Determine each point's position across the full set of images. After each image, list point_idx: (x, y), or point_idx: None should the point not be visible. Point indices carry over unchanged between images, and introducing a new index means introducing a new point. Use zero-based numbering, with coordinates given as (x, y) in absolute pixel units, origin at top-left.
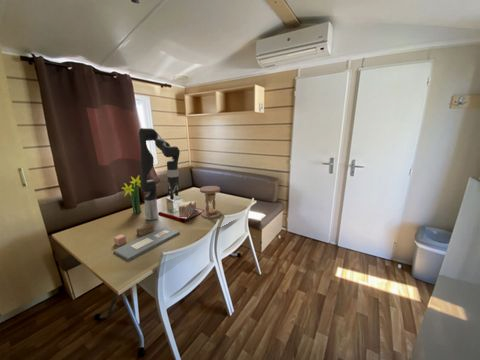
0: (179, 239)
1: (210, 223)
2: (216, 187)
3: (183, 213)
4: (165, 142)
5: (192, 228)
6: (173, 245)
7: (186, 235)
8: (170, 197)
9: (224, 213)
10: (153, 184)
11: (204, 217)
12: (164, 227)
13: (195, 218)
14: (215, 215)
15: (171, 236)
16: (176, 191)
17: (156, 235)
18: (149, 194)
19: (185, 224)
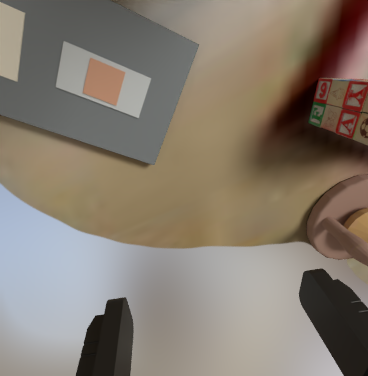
0: (102, 187)
1: (264, 242)
2: None
3: (339, 114)
4: None
5: (212, 194)
6: (47, 187)
7: (144, 198)
8: (82, 352)
9: None
10: None
11: (318, 207)
12: (184, 49)
13: (323, 162)
14: (327, 249)
15: (103, 147)
16: (352, 366)
17: (73, 60)
18: None
19: (252, 143)
